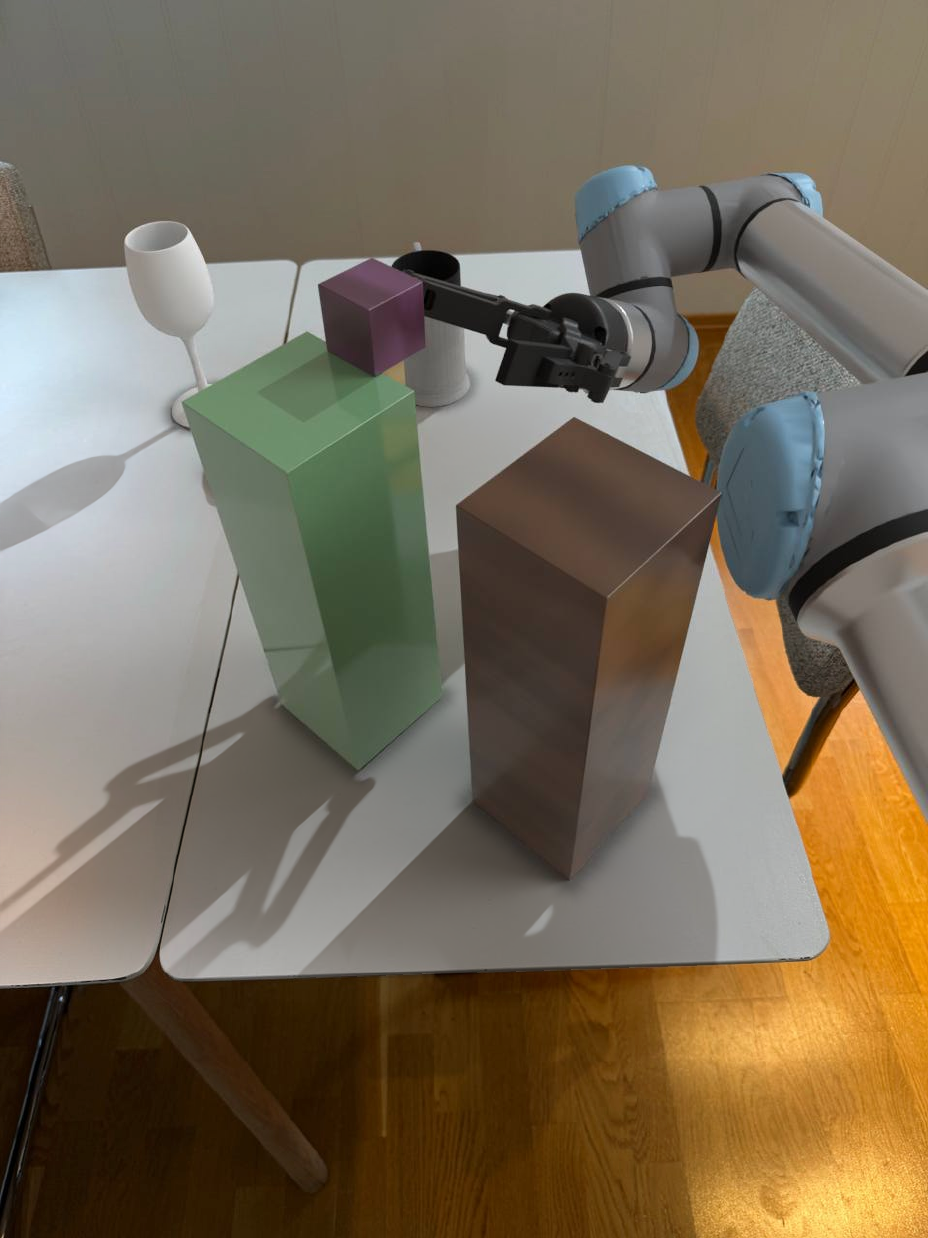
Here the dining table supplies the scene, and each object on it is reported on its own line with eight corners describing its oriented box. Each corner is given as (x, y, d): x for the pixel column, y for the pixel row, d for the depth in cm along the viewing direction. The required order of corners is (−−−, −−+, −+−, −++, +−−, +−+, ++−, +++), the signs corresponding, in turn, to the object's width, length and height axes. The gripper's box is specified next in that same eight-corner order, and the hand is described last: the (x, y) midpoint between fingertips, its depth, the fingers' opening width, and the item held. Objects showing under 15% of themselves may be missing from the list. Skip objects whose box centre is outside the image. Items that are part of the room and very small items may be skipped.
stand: (569, 881, 67) (606, 598, 43) (471, 801, 72) (455, 504, 47) (648, 793, 72) (722, 492, 47) (551, 723, 76) (573, 415, 52)
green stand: (358, 771, 74) (286, 473, 50) (281, 704, 79) (180, 401, 54) (442, 697, 79) (414, 390, 54) (365, 638, 83) (306, 330, 59)
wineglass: (189, 382, 110) (135, 213, 94) (256, 388, 109) (213, 218, 93) (160, 426, 105) (97, 254, 89) (229, 433, 103) (179, 260, 87)
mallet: (367, 309, 52) (423, 280, 54) (316, 283, 54) (372, 256, 56) (388, 512, 63) (433, 481, 65) (345, 484, 65) (390, 455, 68)
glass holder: (402, 411, 105) (389, 292, 94) (388, 343, 114) (375, 228, 103) (475, 401, 106) (472, 282, 94) (456, 335, 115) (451, 220, 103)
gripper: (695, 446, 72) (555, 455, 55) (467, 334, 83) (295, 314, 67) (736, 355, 69) (601, 336, 52) (493, 251, 80) (319, 209, 64)
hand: (428, 323), depth 60 cm, fingers open, 13 cm apart
